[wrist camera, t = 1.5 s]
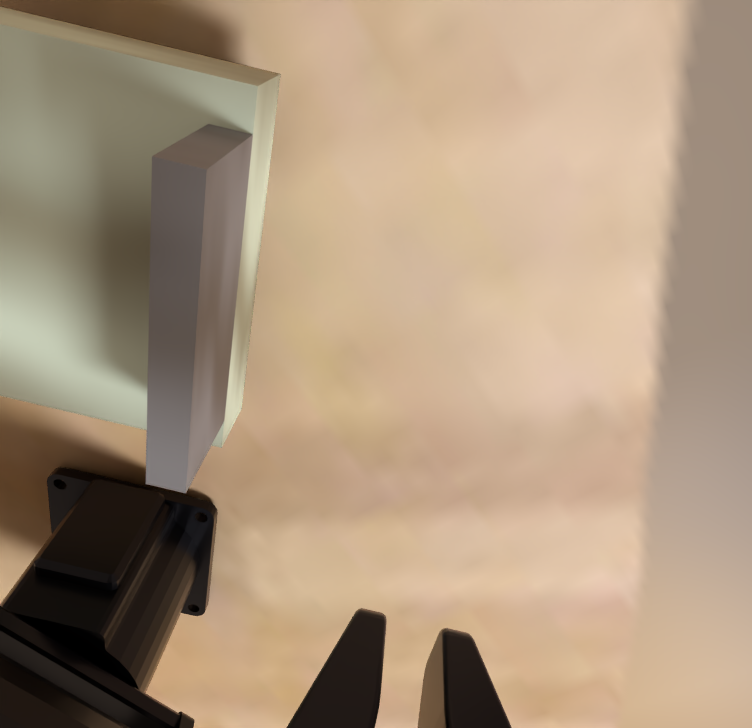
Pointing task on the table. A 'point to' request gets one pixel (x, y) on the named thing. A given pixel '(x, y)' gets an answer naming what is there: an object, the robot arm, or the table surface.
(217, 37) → the table surface
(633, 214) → the table surface
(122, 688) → the robot arm
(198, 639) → the table surface
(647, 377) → the table surface
